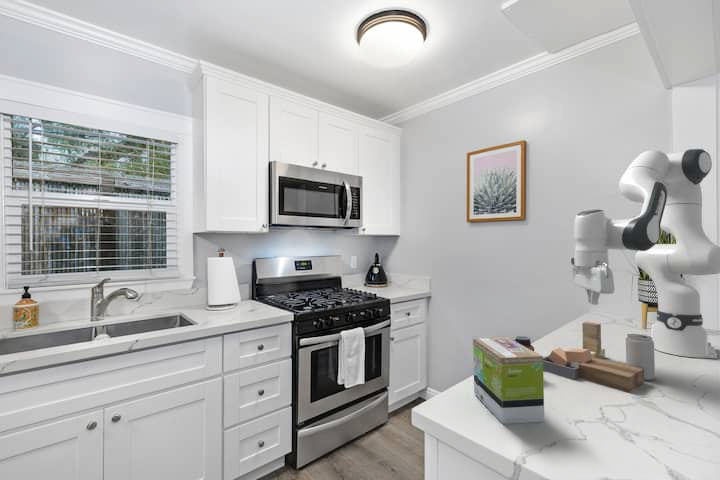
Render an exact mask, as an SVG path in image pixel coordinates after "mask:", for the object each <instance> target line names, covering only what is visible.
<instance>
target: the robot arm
mask: <svg viewBox="0 0 720 480" xmlns="http://www.w3.org/2000/svg"><path fill="white" fill-rule="evenodd" d="M711 157H712V156H711V155H710V153H709V152H708V151H706V150H704V149H703V148H692V149H687V150H682V151H674V152H669V153H665V152H663V151H661V150H655V149H652V150H651V149H650V150H646V151H643V152H641V153H640V154H638V155H637V157H635V158H634V159H633V160H632V162H631V163H629V166H627V168H626V169H625V171H624V172H623V175H622V176H621V178H620V180H619V183H618V190H619V192H620V194H621V195H622V196H623V197H624V198H625V199H627V200H629V201H631V202H635V203H640V204H642V208H641V210H640V214H639V215H637V216H635V217H631V218H624V219H622V218H621V219H611V218H609V217H607V216H606V214H605V211H604V210H603V209H590V210H585V211H581V212H578V213H576V215H575V217H574V224H573V239H574V242H575V248H574V255H573V256H572V257H571V258H570V259H569V260H570V265H572V267H571V271H572V280H573V281H572V282H573V284H574V285H575V286H576V287H579V288H582V289H585V291H584V292H585V294H586V298H587V303H588V304H590V305H593V306H594V305H596V306H597V305H599V298H600V295H601V294H603V295H605V294H606V295H607V294H608V295H609V294H610V295H611V294H612V295H613V294H614V293H615V282H614V274H613V270H612V268H610V266H609V265H610V264H609V250H619V251H620V250H621V251H623V250H625V251H626V250H628V251H629V250H630V251H636V253H635V255H634V256H635V257H634V258H635V259H634V260H635V263H636V265H637V267H638V268H639V269H641V270H642V271H644V273H646V274H647V275H648V276H649V277H650V278H651V280H652V282H653V284H654V286H655V289H656V293H657V310H656V322H655V323H653V324H652V325H651V336H650V337H652V340H653V342H654V350H656V351H659V352H661V353H666V354H669V355H674V356H679V357H680V356H681V357H688V358H698V359H700V358H702V359H703V358H704V359H705V358H706V359H718V354H717V350H716V347H714V346H712V343H711V342H709V340H708V339H709V338H708V332H707V331H706V330H705V328H704V327H703V324H704V322H703V321H704V319H703V315H702V313H701V295H700V293H699V291H698V290H697V289H696V288H694V287H693V286H691V285H689V284H687V283H686V282H685V281H684V280H683V279H682V276H681V275H688V276H689V275H690V276H709V275H710V276H711V275H717V274H720V246H718V245H716V244H715V243H714V242H712V241H711V240H710V239H709V237H708V236H707V235H706V234H705V231H704V228H703V223H702V222H703V219H702V218H703V215H702V214H703V212H702V211H703V194H702V187H701V183H702V181H703V180H704V178H706V177H707V176H708V174H709V173H710V172H711V170H712V167H713V166H712V164H713V162H712V158H711ZM661 229H662V231H664V232H666V233H668V234H670V235H673V236H674V239H675V243H658V242H659V240H660V233H661Z"/></svg>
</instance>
